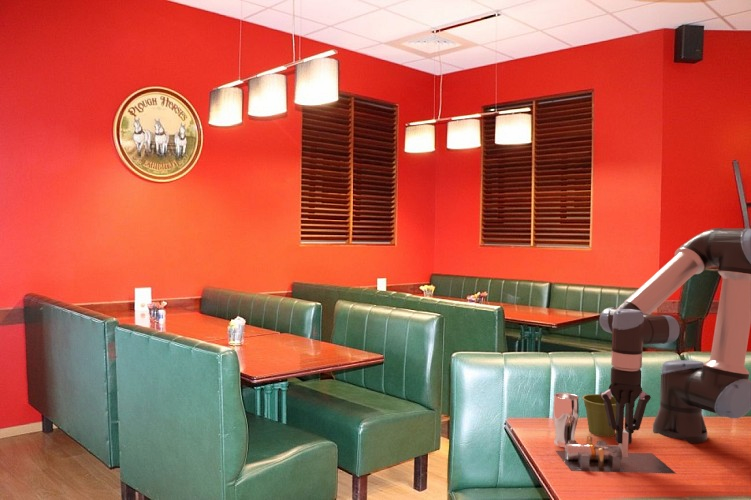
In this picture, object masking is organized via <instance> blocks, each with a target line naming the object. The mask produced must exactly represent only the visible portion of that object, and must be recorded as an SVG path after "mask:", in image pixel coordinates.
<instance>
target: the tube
mask: <svg viewBox="0 0 751 500" xmlns="http://www.w3.org/2000/svg"><path fill="white" fill-rule="evenodd" d="M599 448H603V449H604V461H608V460H609V453H617V454H618V455H619V456H620V457H621V459H622V451H621V448H620V446H619V444H617V445H616V444H615V445H614V444H608V445H597V444H593V443H592V444H587V443H586V444H584V443H581V444H580V443H578V444H566V445H565V447H564V451H565V456H566V459H568V460H578V452H586V453H587V454H588V455H589V456H590V460H598V451H599Z"/></svg>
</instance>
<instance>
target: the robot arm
mask: <svg viewBox="0 0 751 500" xmlns="http://www.w3.org/2000/svg"><path fill="white" fill-rule="evenodd" d="M714 267H718V268H717V273H718V274H719V275H720V276H721V279H722V281H721V289H720V293H719V294H720V295H719V301H718V307H717V313H716V320H715V325H714V333H713V338H712V339H713V340H712V346H711V353H710V358H709V360H707V361H706V362H703V361H697V360H688V359H687V360H684V359H681V360H680V359H678V360H675V359H673V360H667V361H665V362H663V363H662V366H661V373H660V395H659V397H660V398H659V399H660V400H659V401H660V403H659V405H660V406H659V409H658V411H657V414H656V416H655V419H654V421H653V422H652V432H653V433H654V434H660V435H662V436H663V437H667V438H671V439H676V440H681V441H686V442H687V443H689V444H700V443H705V442H706V441H708V430H707V426H706V423H705V419H704V417H703V416H704V415H703V411H706V412H708V413H709V412H710V413H713V414H716V415H718V416H719V417H726V418H729V419H733V420H734V419H740V418H742V417H744V416H746V415H747V414H748V413H749V412H750V411H751V380H750V378H749V377H750V372H749V370H747V368H746V367H745V363H746V356H747V349H748V342H749V338H750V337H749V336H750V330H751V228H749V227H747V228H742V227H741V228H739V227H738V228H737V227H736V228H730V227H729V228H727V227H726V228H725V227H724V228H723V227H717V228H716V227H715V228H710V229H707V230H704V231H702V232H701V233H698V234H696V235H694V236H692V237H691V238H690V239H688V240H687V241H686V242H684V243H683V244H682V245H680V246H679V247H678V248H677V249H676V250H675V251H674V256H673V257H672V258H671V259H670V260H669V261H667V263H665V264H664V265H663V266H662V267H661V268H659V270H658V271H657V272H655V274H653V275H652V276H651V277H650V278H649V279H648V280H647V281H645V282H644V283H643V284H642V285H641V286H640V287H639V288H638V289H636V290H635V291H634V292H633V293H632V294H630V296H629V297H627V298H626V299H625V300H624V301H623V302H622V303H620V304H619V305H618V306H617V307H615V306H614V307H613V306H612V307H607V308H604V309H603V310H602V311H601V312H600V315H599V325H600V327H601V329H602V330H603V331H604V332H607V333H609V334H611V341H612V343H611V360H610V362H611V368H610V384H609V386H608V389H607V390H605V391H604V392H603V391H601V392H600V393H599V394H600V396H601V397H602V399H603V400H604V405H605V410H606V414H607V419H608V424H609V426H610V427H611V428H612V429H613V430H615V442H616V443H617V445H619V446H620V448H621V451H622V457H628V453H629V445H631V444H632V441H633V440H632V439H633V434H634V433H635V431H639V430H640V428H641V425H642V421H643V418H644V414H645V410H646V407H647V404H648V403H649V401H650V400H651V398H652V397H651V395H650V394H648V393H646V392H644V391H643V388H642V370H641V369H642V368H643V366H642V365H643V346H644V345H656V344H658V345H660V344H662V345H666V344H670V343H673V342H675V341H676V340H677V339H678V338H679V336H680V332H681V331H680V324H679V322H678V320H677V319H676V318H675V317H673V316H672V315H664V314H659V315H654V314H652V313H653V312H654V311H656V309H658V308H659V307H660V306H661V305H663V303H664V302H665V301H666V300H668V299H669V298H670V297H671V296H672V295H673V294H674V293H676V292H677V290H678V289H680V288H681V287H682V286H683V285H684V284H685V283H686V282H688V280H689V279H690V278H692V277H693V276H694V275H699V274H701V273H703V272H704V271H705V270H706V269H709V268H714ZM611 396H613V397H614V398H615V403H616V421H615V417H614V412H613V407H612V403H611V400H610V399H611ZM637 399H638V401H637ZM636 401H637V403H636ZM635 403H636V407H635ZM634 408H635V410H634Z"/></svg>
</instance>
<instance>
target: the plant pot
mask: <svg viewBox="0 0 751 500" xmlns="http://www.w3.org/2000/svg"><path fill="white" fill-rule="evenodd" d="M581 399H582V400H583V402H584V407H585V411H586V418H587V420H586V421H587V425H588V432H589V433H590V434H593V435H595V436H600V437H612V436H615V435H616V430H613V429H612V428H611V427H610V426H609V424H608V419H607V414H606V410H605V405H604V400H603V399H602V397H601V396H600V393H599V394H594V393H593V394H591V393H590V394H585V395H583V396H582V397H581ZM610 400H611V403H612V407H613V412H614V417H615V421H616V403H615V398H614V397H613V395H611V399H610Z"/></svg>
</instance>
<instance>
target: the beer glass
mask: <svg viewBox="0 0 751 500" xmlns="http://www.w3.org/2000/svg"><path fill="white" fill-rule="evenodd" d="M553 399H554V400H553V410H552V412H553V413H552V414H553V422H554V431H555V434H554V435H555V437H554V441H553V444H554V445H555V446H557V447H561V448H565V445H566V444H568V440H575V437H576V436H575V435H576V428H577V425H578V422H579V420H578V419H579V411H580V409H579V408H580V405H579V404H580V403H579V402H580V401H579V396H578V395H576V394H573V393H569V392H568V393H567V392H557V393H555V394H554V398H553ZM575 441H576V440H575Z"/></svg>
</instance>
